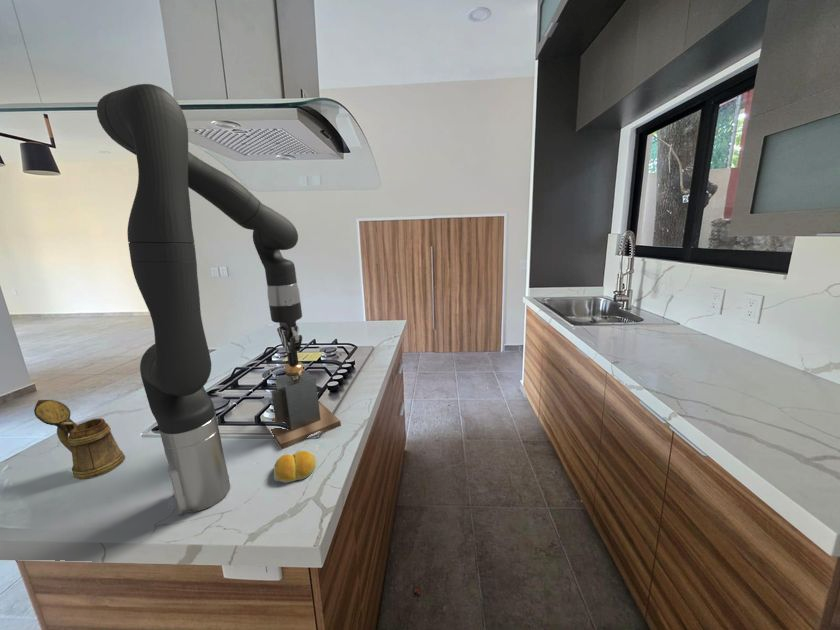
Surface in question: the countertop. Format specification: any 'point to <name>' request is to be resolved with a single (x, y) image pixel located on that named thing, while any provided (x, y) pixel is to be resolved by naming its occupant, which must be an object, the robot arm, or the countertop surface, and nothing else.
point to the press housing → (296, 400)
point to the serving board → (305, 429)
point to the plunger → (294, 370)
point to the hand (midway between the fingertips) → (293, 364)
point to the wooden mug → (82, 440)
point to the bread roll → (294, 466)
